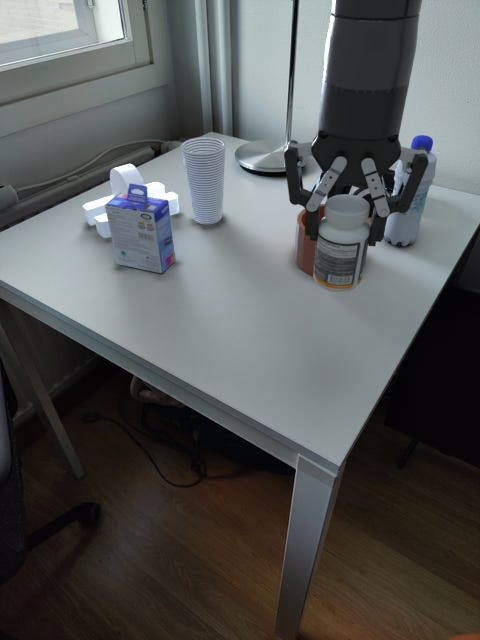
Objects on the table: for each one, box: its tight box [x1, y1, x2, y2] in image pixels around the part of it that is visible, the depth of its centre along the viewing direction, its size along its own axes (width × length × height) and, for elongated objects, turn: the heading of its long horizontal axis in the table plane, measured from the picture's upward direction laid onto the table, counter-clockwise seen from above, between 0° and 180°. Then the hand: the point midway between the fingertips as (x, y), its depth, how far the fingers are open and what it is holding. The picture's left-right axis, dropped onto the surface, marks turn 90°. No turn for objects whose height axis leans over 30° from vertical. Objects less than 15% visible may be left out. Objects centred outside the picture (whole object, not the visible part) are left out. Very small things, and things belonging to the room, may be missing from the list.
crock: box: [293, 203, 371, 277], centre depth 83 cm, size 13×13×8 cm
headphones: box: [326, 168, 395, 223], centre depth 99 cm, size 18×8×20 cm
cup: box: [180, 136, 226, 225], centre depth 93 cm, size 8×8×16 cm
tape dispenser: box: [82, 163, 180, 239], centre depth 95 cm, size 10×18×11 cm, turn 127°
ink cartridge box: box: [105, 184, 176, 274], centre depth 81 cm, size 10×6×14 cm, turn 70°
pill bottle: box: [313, 194, 371, 293], centre depth 52 cm, size 6×6×10 cm
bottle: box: [384, 134, 438, 247], centre depth 83 cm, size 7×7×20 cm
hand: (342, 239), depth 52 cm, fingers closed on pill bottle, 5 cm apart
